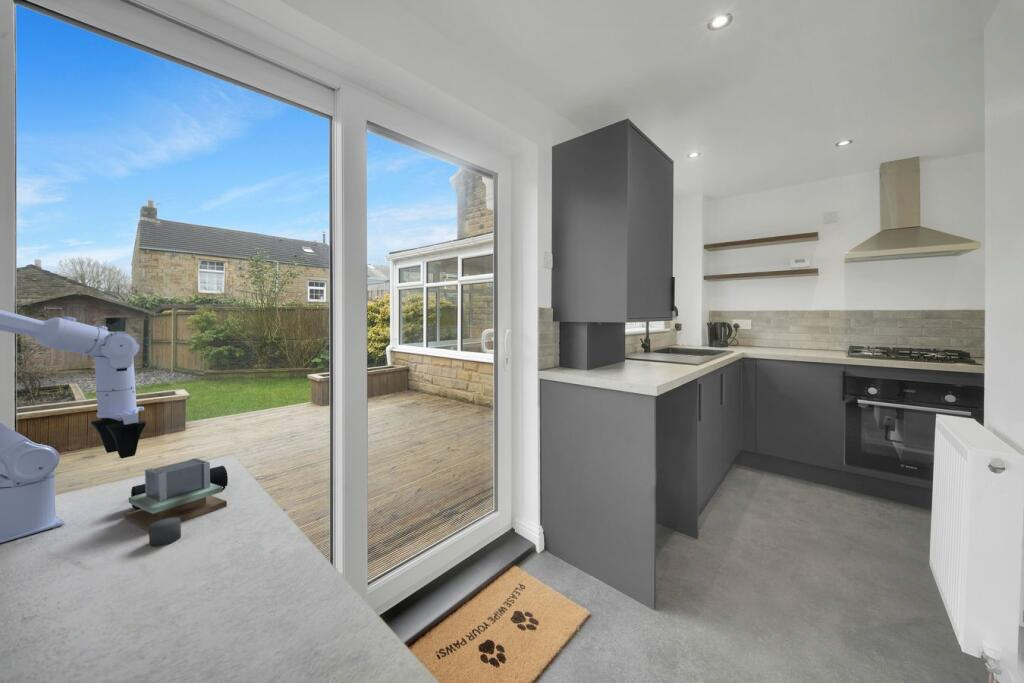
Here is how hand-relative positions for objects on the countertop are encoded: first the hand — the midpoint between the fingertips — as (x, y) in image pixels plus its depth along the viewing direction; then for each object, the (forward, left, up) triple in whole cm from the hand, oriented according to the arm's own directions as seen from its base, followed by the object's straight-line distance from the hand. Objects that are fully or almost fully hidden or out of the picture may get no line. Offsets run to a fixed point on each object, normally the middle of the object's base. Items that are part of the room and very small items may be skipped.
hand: (120, 454), depth 82 cm
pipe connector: (+7, -6, -10) cm, 14 cm away
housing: (+3, -17, -6) cm, 18 cm away
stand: (+3, -17, -10) cm, 20 cm away
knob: (-3, -28, -10) cm, 30 cm away
